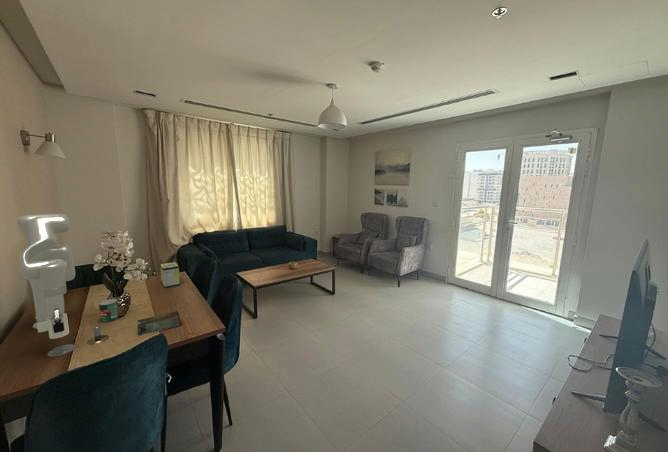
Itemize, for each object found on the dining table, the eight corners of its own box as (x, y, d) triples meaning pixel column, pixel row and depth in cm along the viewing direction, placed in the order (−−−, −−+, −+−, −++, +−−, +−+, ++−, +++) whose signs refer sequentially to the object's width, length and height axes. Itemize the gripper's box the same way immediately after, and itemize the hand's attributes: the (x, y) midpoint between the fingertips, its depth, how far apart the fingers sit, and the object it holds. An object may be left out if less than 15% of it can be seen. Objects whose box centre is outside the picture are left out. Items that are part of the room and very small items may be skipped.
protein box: (176, 280, 218) (175, 261, 216) (180, 285, 207) (179, 266, 205) (161, 282, 212) (159, 263, 210) (164, 288, 200) (163, 268, 198)
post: (82, 343, 128) (80, 329, 127) (101, 334, 137) (99, 321, 136) (95, 346, 126) (93, 332, 125) (113, 337, 135) (112, 324, 134)
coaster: (42, 355, 119) (42, 353, 119) (66, 344, 128) (66, 342, 128) (56, 359, 117) (56, 357, 117) (80, 347, 126) (80, 346, 126)
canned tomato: (97, 324, 147) (95, 305, 145) (105, 317, 154) (103, 299, 153) (114, 322, 149) (112, 303, 148) (121, 316, 157) (119, 298, 155)
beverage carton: (137, 330, 142) (136, 318, 142) (179, 320, 154) (178, 309, 153) (137, 336, 136) (136, 324, 135) (180, 326, 147) (180, 315, 147)
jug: (67, 335, 120) (64, 316, 119) (37, 342, 115) (34, 322, 114) (70, 330, 125) (67, 312, 124) (41, 336, 120) (38, 317, 119)
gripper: (42, 287, 122) (47, 324, 124) (41, 298, 110) (46, 339, 112) (66, 283, 127) (70, 319, 129) (66, 294, 115) (71, 333, 117)
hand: (59, 328), depth 121 cm, fingers closed on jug, 6 cm apart
